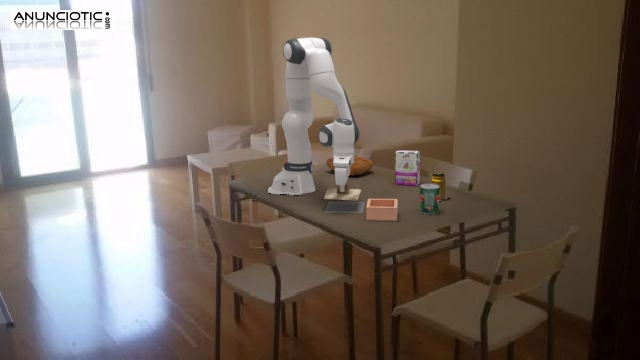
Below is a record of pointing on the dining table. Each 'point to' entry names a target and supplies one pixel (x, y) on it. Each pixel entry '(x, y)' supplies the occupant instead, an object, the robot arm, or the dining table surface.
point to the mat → (345, 207)
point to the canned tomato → (429, 198)
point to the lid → (343, 193)
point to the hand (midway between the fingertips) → (342, 190)
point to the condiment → (439, 183)
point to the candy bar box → (407, 168)
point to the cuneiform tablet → (355, 165)
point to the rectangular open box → (381, 210)
